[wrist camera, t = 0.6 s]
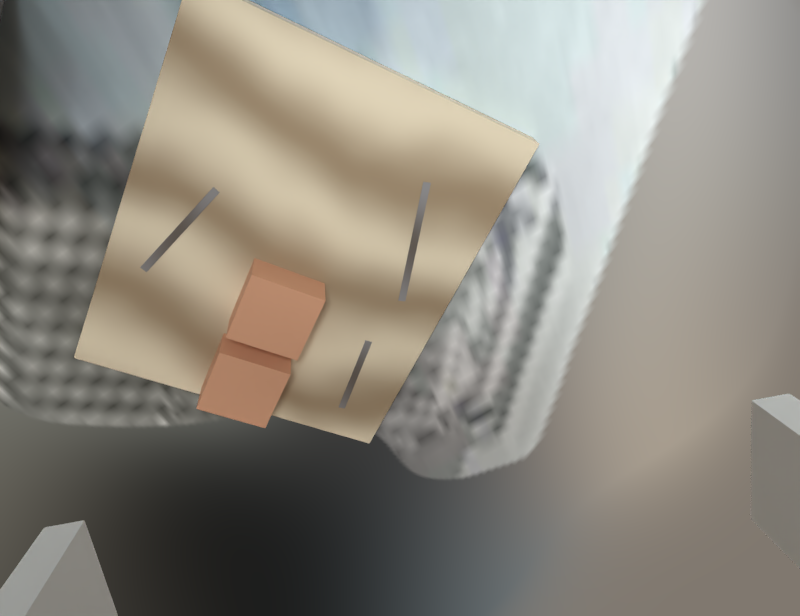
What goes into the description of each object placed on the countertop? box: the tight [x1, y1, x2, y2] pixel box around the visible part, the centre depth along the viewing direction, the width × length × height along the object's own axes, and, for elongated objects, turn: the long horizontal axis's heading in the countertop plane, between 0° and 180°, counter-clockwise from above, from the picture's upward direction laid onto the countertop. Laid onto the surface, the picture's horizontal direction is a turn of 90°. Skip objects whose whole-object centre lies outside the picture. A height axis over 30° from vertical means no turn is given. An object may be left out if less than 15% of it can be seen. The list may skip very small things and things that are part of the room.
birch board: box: [74, 0, 539, 443], centre depth 36 cm, size 21×18×1 cm
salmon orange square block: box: [196, 333, 291, 428], centre depth 38 cm, size 4×4×2 cm
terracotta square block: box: [226, 258, 326, 360], centre depth 36 cm, size 4×4×2 cm
